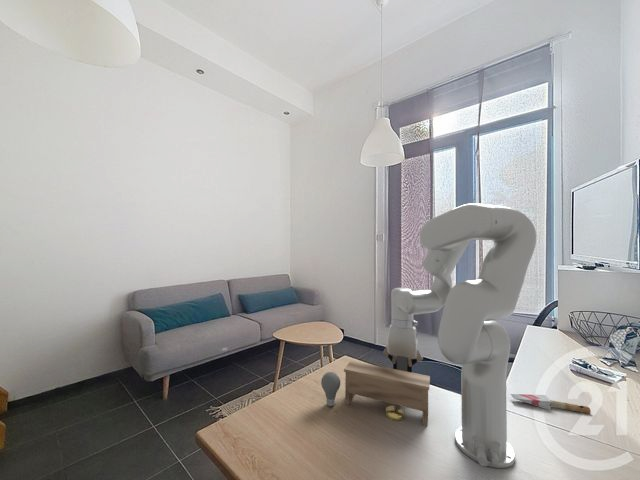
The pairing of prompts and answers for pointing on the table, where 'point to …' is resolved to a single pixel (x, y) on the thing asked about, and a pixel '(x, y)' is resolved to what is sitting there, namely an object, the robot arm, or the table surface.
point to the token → (394, 413)
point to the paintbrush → (549, 403)
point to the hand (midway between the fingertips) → (402, 374)
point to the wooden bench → (387, 386)
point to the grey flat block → (402, 363)
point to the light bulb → (330, 386)
